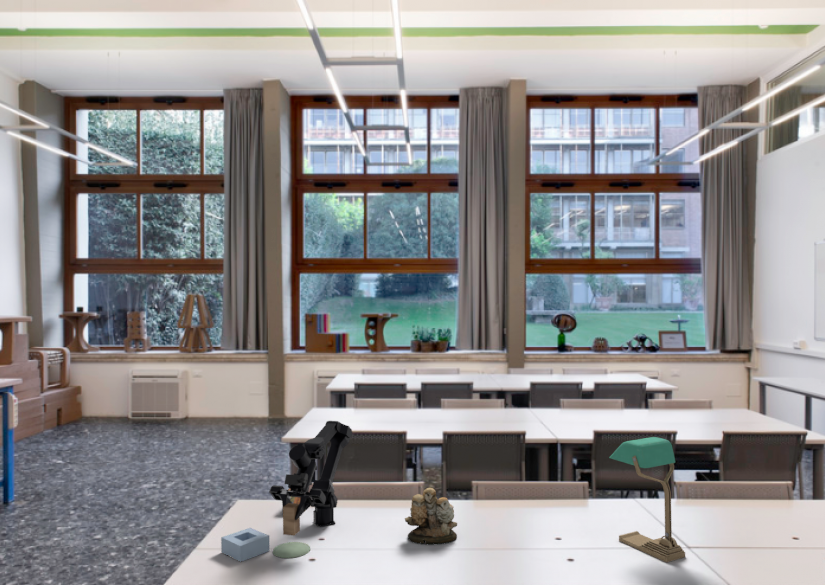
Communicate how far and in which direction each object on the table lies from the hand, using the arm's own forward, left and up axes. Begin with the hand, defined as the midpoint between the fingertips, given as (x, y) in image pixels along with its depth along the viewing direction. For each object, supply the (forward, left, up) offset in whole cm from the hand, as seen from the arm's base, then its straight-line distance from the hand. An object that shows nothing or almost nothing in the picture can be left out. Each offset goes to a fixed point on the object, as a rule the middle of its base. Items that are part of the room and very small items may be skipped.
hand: (289, 518), depth 201 cm
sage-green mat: (-1, -1, -11) cm, 11 cm away
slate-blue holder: (+13, -7, -11) cm, 18 cm away
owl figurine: (-46, +11, -11) cm, 49 cm away
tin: (-13, -42, -11) cm, 45 cm away
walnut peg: (-1, -1, -5) cm, 5 cm away
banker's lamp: (-105, +52, -11) cm, 118 cm away
